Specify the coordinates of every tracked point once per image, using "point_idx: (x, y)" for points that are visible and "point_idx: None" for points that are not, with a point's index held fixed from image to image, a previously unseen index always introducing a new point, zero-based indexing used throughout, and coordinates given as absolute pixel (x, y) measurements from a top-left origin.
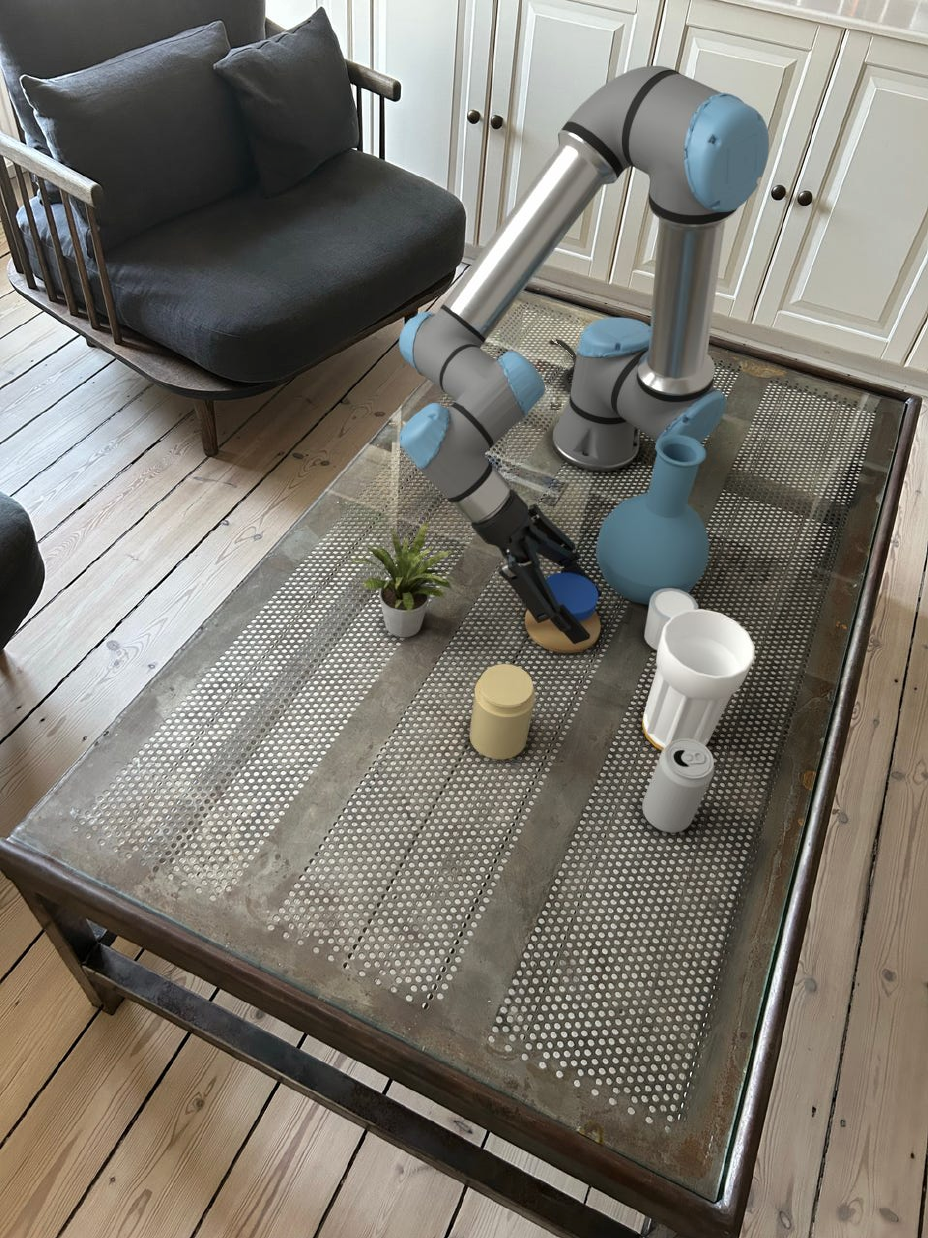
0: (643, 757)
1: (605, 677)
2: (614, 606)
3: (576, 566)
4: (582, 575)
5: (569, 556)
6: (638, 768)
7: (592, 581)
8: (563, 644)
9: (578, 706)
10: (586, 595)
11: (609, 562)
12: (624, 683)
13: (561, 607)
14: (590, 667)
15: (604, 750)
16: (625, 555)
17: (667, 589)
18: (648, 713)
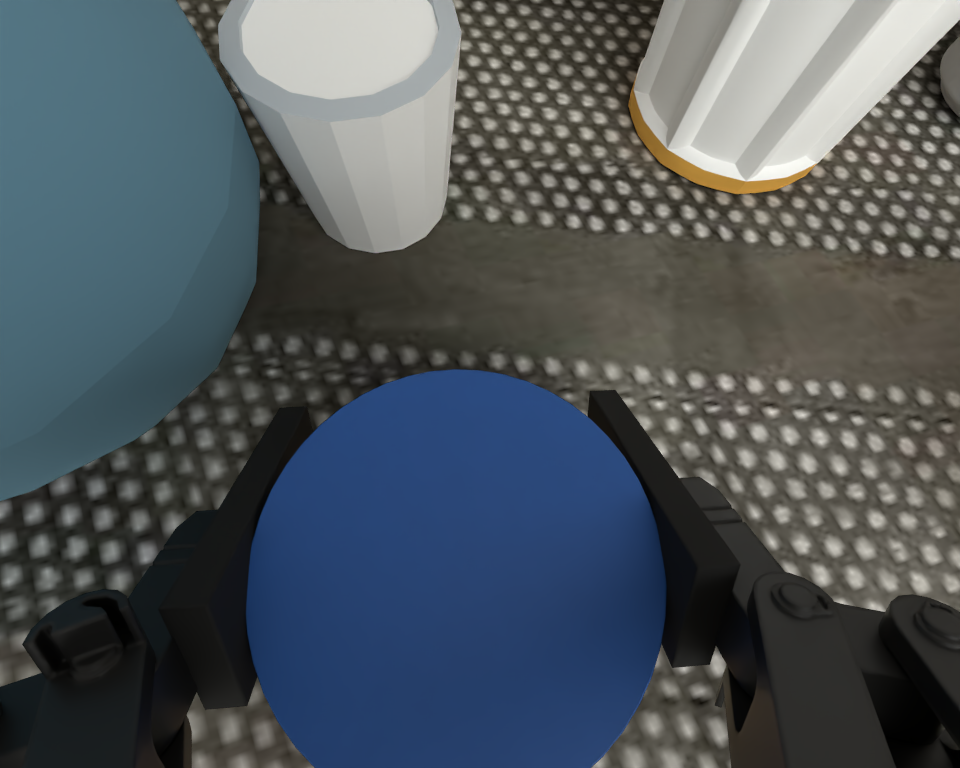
0: (871, 171)
1: (646, 329)
2: (273, 378)
3: (205, 591)
4: (251, 523)
5: (115, 706)
6: (914, 176)
7: (249, 458)
8: None
9: (820, 382)
10: (442, 444)
11: (80, 369)
12: (638, 268)
13: (733, 569)
14: (628, 388)
15: (924, 268)
16: (26, 198)
17: (239, 61)
18: (793, 145)
